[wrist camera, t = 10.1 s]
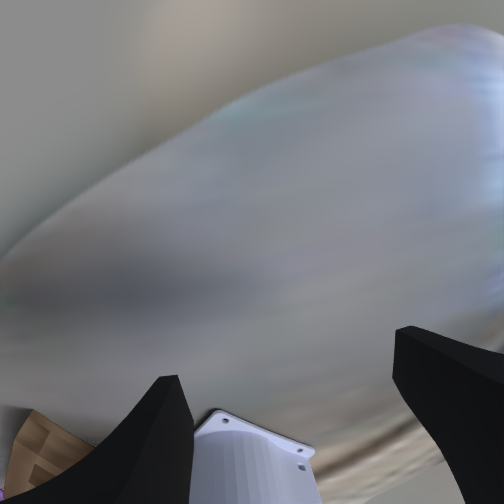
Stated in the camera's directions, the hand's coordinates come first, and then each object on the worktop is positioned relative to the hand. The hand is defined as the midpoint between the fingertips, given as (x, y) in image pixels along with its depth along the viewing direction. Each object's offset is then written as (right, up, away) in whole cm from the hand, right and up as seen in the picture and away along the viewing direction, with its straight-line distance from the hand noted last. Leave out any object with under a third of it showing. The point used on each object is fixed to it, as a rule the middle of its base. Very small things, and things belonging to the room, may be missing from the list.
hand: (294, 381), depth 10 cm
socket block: (-21, -18, +12) cm, 30 cm away
